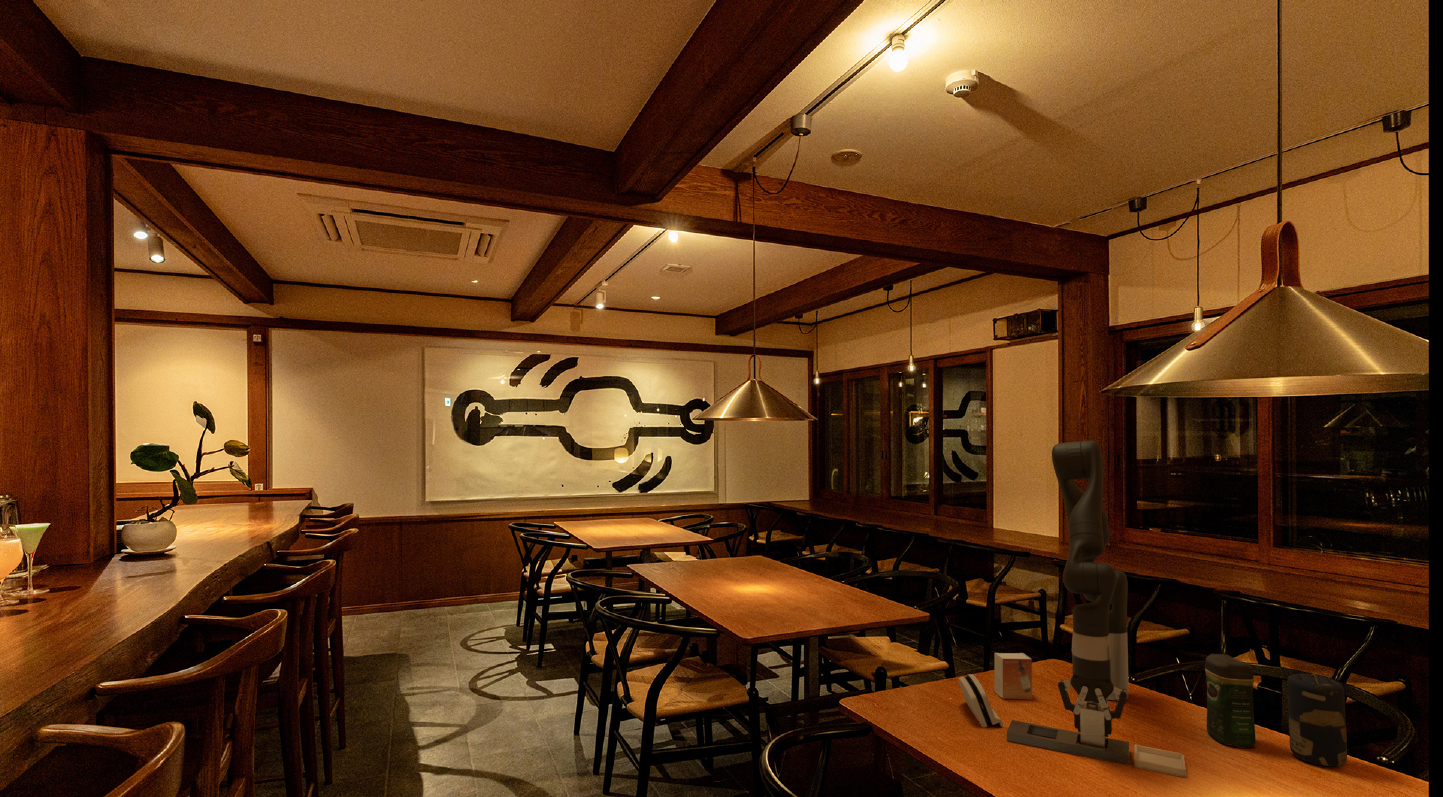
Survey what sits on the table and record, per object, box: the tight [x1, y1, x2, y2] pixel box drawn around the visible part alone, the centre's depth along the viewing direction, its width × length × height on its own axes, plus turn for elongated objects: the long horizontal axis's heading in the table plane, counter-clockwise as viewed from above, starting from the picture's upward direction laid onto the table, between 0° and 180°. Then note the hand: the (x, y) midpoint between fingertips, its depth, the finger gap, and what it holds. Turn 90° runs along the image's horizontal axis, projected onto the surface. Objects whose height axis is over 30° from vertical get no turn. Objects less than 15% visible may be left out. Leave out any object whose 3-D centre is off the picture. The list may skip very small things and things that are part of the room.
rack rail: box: [1006, 719, 1130, 766], centre depth 160 cm, size 8×24×2 cm, turn 60°
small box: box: [994, 652, 1033, 700], centre depth 192 cm, size 8×6×10 cm
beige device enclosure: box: [957, 673, 1005, 729], centre depth 179 cm, size 17×5×10 cm, turn 174°
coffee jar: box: [1204, 653, 1257, 749], centre depth 165 cm, size 10×8×19 cm
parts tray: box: [1134, 744, 1187, 779], centre depth 152 cm, size 9×9×2 cm
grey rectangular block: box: [1080, 701, 1106, 749], centre depth 158 cm, size 5×5×9 cm
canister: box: [1286, 673, 1348, 767], centre depth 155 cm, size 10×10×18 cm
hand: (1092, 733), depth 158 cm, fingers closed on grey rectangular block, 4 cm apart
